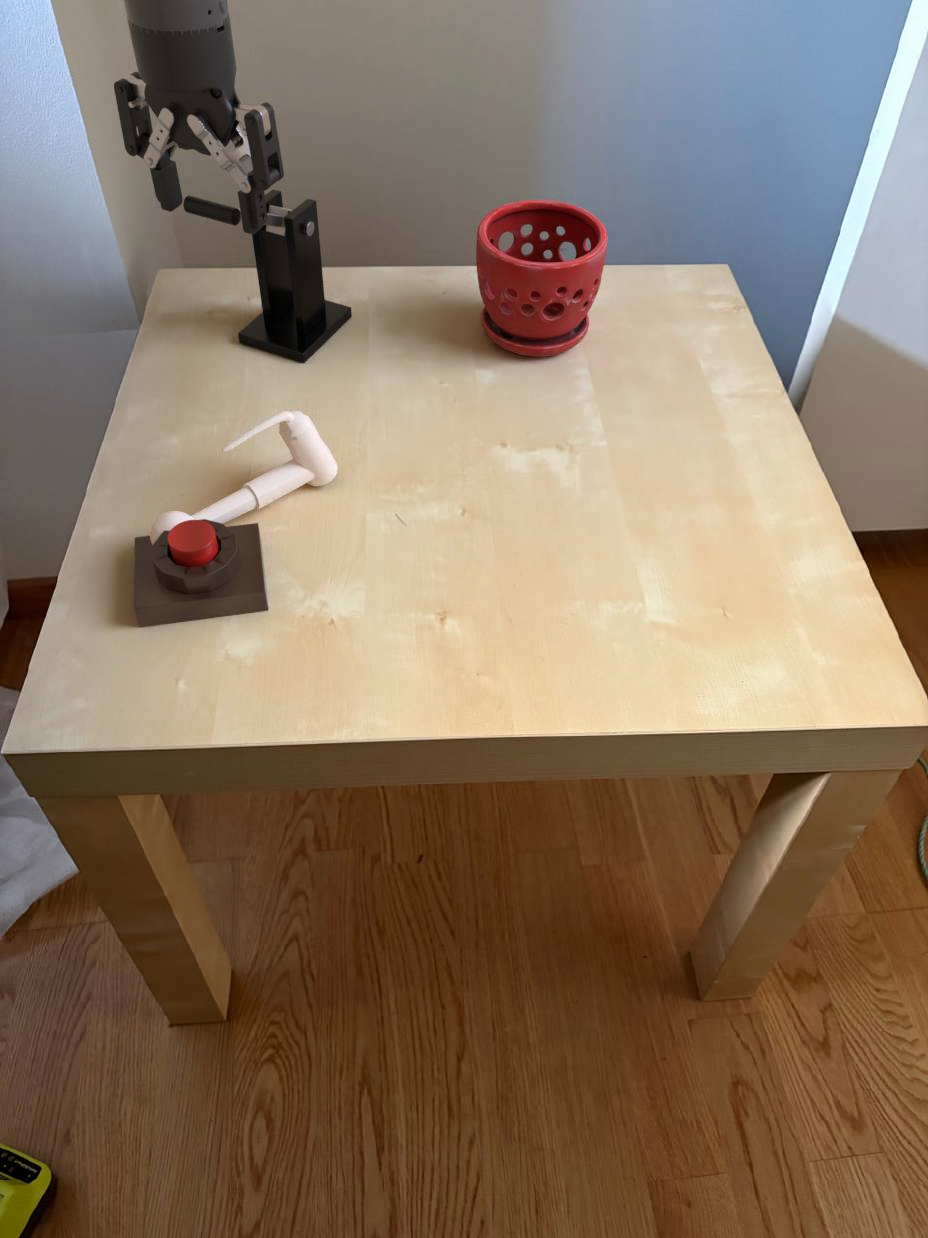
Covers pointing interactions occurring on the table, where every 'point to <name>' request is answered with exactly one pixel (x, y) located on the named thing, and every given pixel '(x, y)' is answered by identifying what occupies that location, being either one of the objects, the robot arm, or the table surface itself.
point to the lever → (234, 213)
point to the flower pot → (539, 276)
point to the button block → (200, 578)
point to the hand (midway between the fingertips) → (213, 218)
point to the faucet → (305, 467)
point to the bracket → (292, 288)
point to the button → (193, 543)
